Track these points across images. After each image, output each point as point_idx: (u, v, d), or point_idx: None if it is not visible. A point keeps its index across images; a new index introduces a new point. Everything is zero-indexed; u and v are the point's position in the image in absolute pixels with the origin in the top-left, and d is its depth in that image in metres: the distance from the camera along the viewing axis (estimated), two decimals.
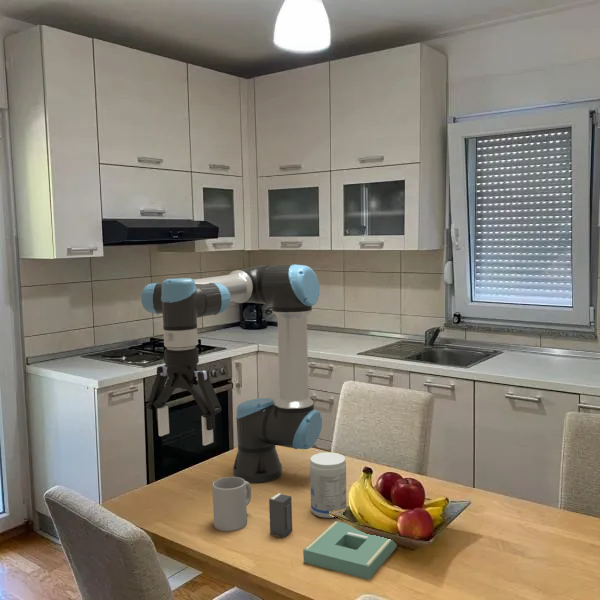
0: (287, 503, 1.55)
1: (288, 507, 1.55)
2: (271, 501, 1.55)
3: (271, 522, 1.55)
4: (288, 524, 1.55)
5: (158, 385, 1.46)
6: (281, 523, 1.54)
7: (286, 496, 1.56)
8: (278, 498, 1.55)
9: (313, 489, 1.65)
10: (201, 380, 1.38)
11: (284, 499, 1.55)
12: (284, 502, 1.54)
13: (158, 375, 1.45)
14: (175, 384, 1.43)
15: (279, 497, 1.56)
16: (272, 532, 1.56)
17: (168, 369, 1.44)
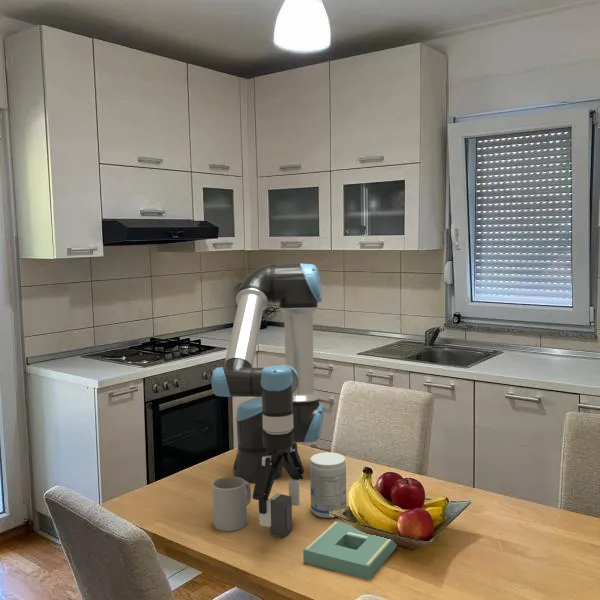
0: (287, 503, 1.55)
1: (288, 507, 1.55)
2: (271, 501, 1.55)
3: (271, 523, 1.55)
4: (288, 524, 1.55)
5: None
6: (281, 523, 1.54)
7: (286, 496, 1.56)
8: (278, 498, 1.55)
9: (313, 489, 1.65)
10: None
11: (284, 499, 1.55)
12: (284, 502, 1.54)
13: None
14: None
15: (279, 497, 1.56)
16: (272, 532, 1.56)
17: None
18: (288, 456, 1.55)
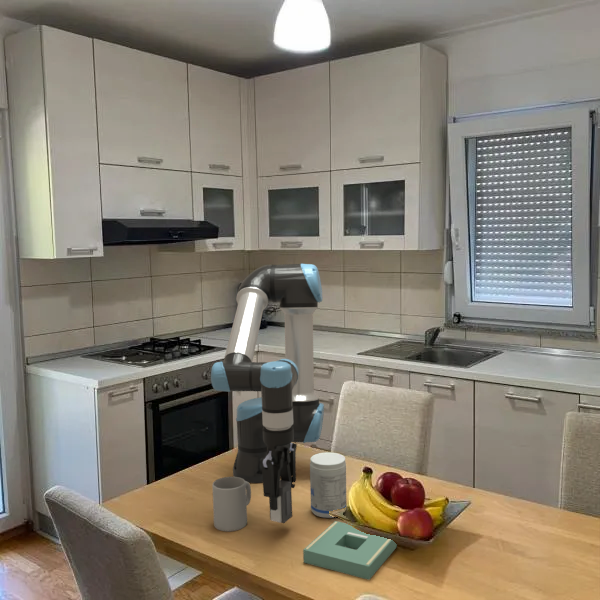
0: (287, 489, 1.55)
1: (288, 493, 1.55)
2: None
3: None
4: (288, 510, 1.55)
5: None
6: (281, 509, 1.54)
7: (286, 482, 1.57)
8: None
9: (313, 489, 1.65)
10: None
11: (284, 485, 1.55)
12: (284, 488, 1.54)
13: None
14: None
15: None
16: None
17: None
18: (288, 451, 1.55)
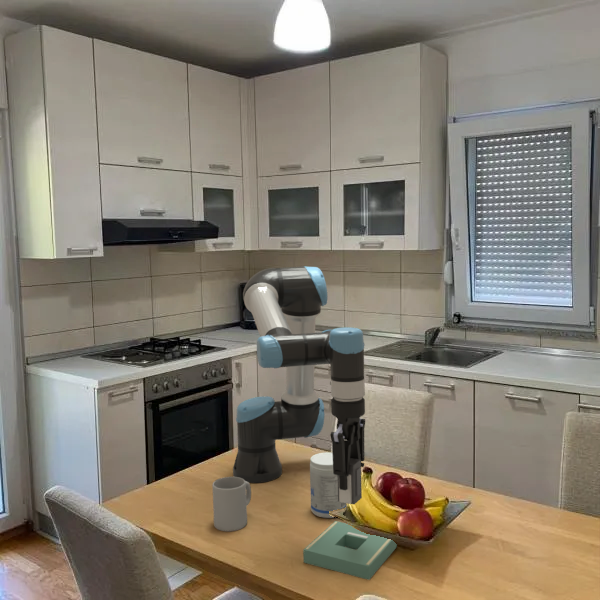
0: (357, 467, 1.42)
1: (358, 471, 1.42)
2: None
3: None
4: (358, 490, 1.42)
5: None
6: (351, 488, 1.41)
7: (355, 459, 1.43)
8: None
9: (313, 489, 1.65)
10: None
11: (354, 462, 1.42)
12: (354, 465, 1.41)
13: None
14: None
15: None
16: None
17: None
18: (358, 426, 1.42)
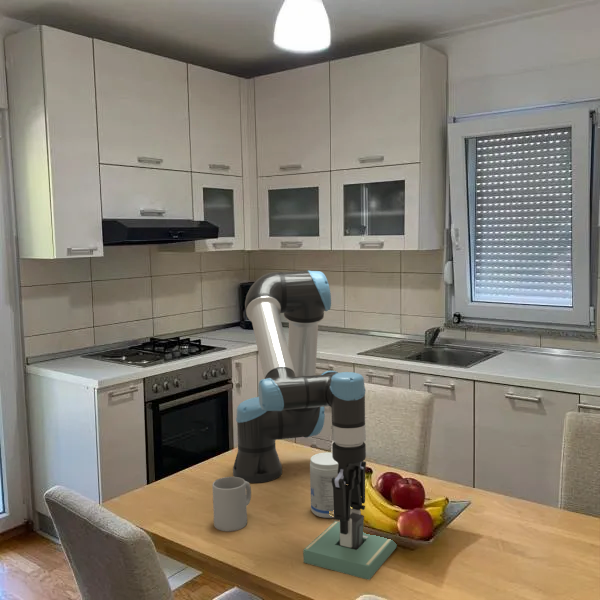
0: (360, 523, 1.43)
1: (360, 528, 1.43)
2: None
3: None
4: (359, 546, 1.43)
5: None
6: (353, 545, 1.42)
7: (358, 515, 1.45)
8: (350, 517, 1.43)
9: (313, 489, 1.65)
10: None
11: (357, 519, 1.43)
12: (357, 522, 1.42)
13: None
14: None
15: (351, 516, 1.44)
16: None
17: None
18: (359, 470, 1.43)
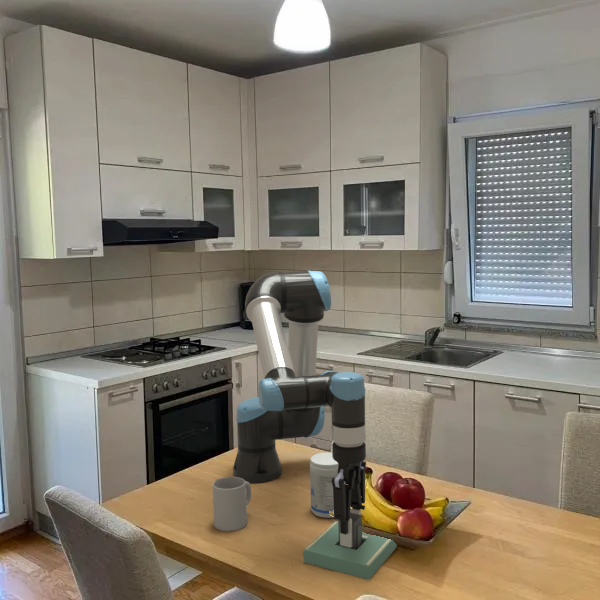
0: (358, 523, 1.43)
1: (359, 527, 1.43)
2: None
3: None
4: (359, 545, 1.43)
5: None
6: (352, 544, 1.42)
7: (356, 515, 1.45)
8: None
9: (313, 489, 1.65)
10: None
11: (355, 518, 1.43)
12: (355, 522, 1.42)
13: None
14: None
15: None
16: None
17: None
18: (359, 470, 1.43)
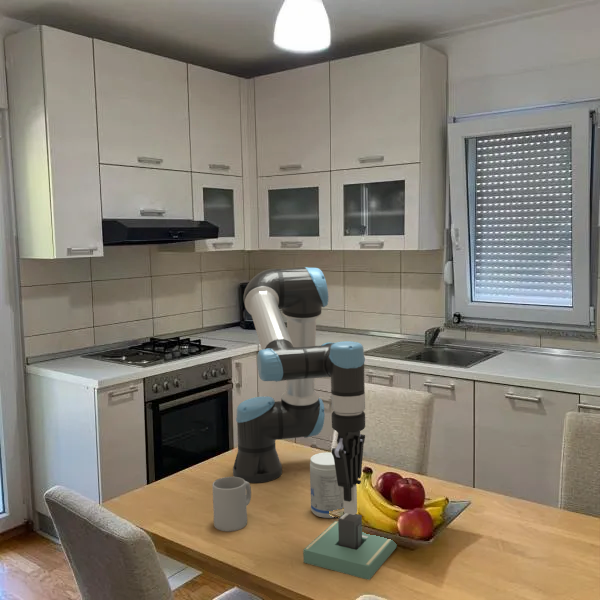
0: (358, 523, 1.43)
1: (359, 527, 1.43)
2: (340, 521, 1.43)
3: (340, 544, 1.44)
4: (359, 545, 1.43)
5: None
6: (352, 544, 1.42)
7: (356, 515, 1.45)
8: (348, 517, 1.44)
9: (313, 489, 1.65)
10: None
11: (355, 518, 1.43)
12: (355, 522, 1.42)
13: None
14: None
15: (349, 516, 1.44)
16: None
17: None
18: (358, 440, 1.42)
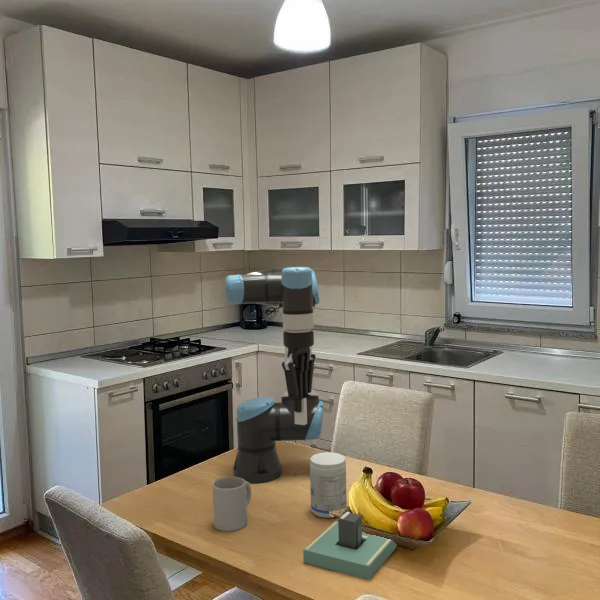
0: (358, 523, 1.43)
1: (359, 527, 1.43)
2: (341, 521, 1.43)
3: (340, 544, 1.44)
4: (359, 545, 1.43)
5: None
6: (352, 544, 1.42)
7: (356, 515, 1.45)
8: (348, 517, 1.44)
9: (313, 489, 1.65)
10: None
11: (355, 518, 1.43)
12: (355, 522, 1.42)
13: None
14: None
15: (349, 516, 1.44)
16: None
17: None
18: (308, 356, 1.56)
